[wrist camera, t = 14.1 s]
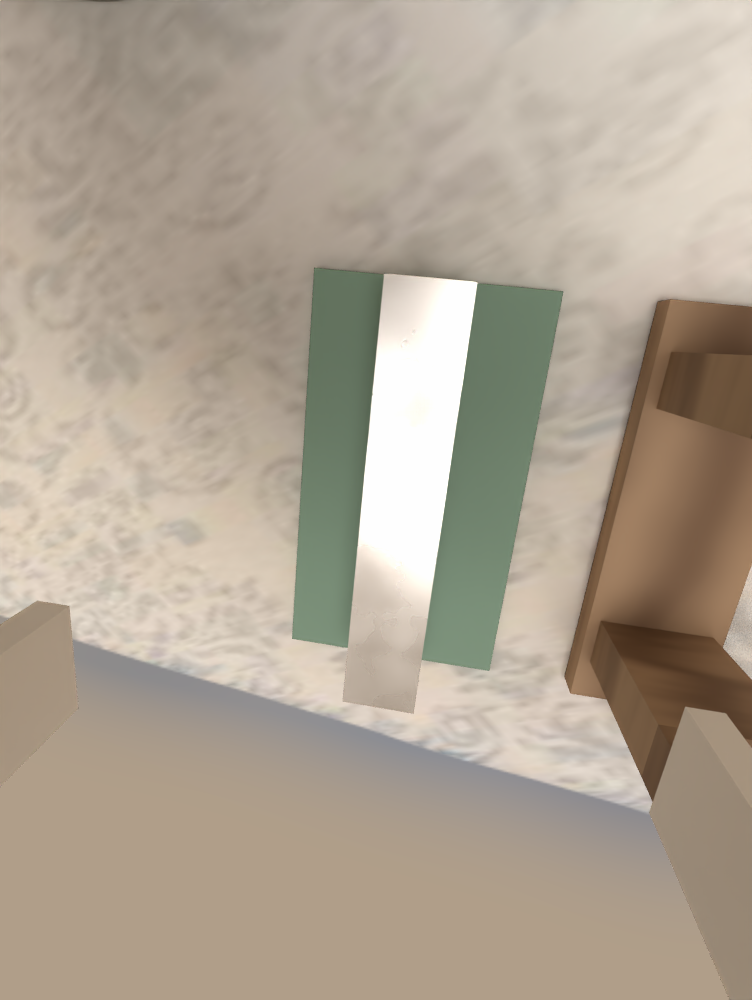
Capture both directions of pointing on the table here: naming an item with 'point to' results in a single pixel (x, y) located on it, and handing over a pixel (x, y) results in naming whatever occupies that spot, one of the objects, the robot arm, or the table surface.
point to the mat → (473, 470)
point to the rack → (674, 538)
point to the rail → (405, 483)
